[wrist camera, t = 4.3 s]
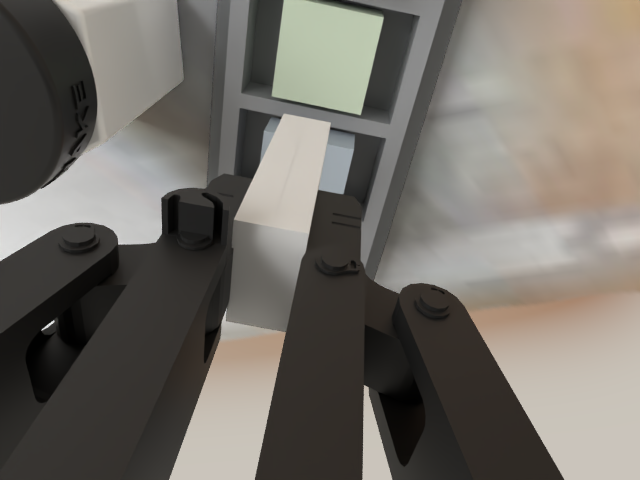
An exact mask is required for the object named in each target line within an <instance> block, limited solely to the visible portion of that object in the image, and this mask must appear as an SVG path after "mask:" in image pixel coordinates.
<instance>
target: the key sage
mask: <svg viewBox="0 0 640 480" xmlns="http://www.w3.org/2000/svg"><path fill="white" fill-rule="evenodd" d="M383 19H384V16H383V11H380V10H375V9H371V8H366V7H361V6H357V5H352V4H348V3H343V2H339V1H334V0H284V3H283V11H282V19H281V27H280V35H279V42H278V50H277V58H276V66H275V74H274V81H273V89H272V96H273V97H277V98H282V99H287V100H292V101H296V102H301V103H306V104H311V105H315V106H320V107H325V108H330V109H334V110H339V111H344V112H349V113H353V114H358V115H361V112H362V108H363V103H364V99H365V95H366V91H367V87H368V82H369V78H370V74H371V70H372V66H373V61H374V57H375V53H376V49H377V45H378V40H379V36H380V32H381V28H382V23H383Z"/></svg>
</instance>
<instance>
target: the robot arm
mask: <svg viewBox="0 0 640 480" xmlns="http://www.w3.org/2000/svg"><path fill="white" fill-rule="evenodd" d="M330 125H331V123H330V122H325V121H320V120H315V119H310V118H304V117H299V116H294V115H289V114H283V116H282V118H281V121H280V123H279V125H278V127H277V129H276V131H275V133H274V135H273V138H272V140H271V142H270V144H269V146H268V148H267V150H266V152H265V154H264V157H263V159H262V161H261V163H260V165H259V167H258V169H257V171H256V174H255V176H254V178H253V179H251V178H246V177H241V176H235V175H230V174H225V173H224V174H222V175H220V176H218V177H217V178H215V179H213V180H211V181H210V183H209V185H208V186H207V188H206V189H199V188H185V189H178V190H175V191H172V192H169V193H167V194H166V195H165V196H164V197H162V198H161V202H162V235H161V236H160V238H159V239H158V241H157V242H156V243H151V244H137V245H118V238H117V236H116V234H115V233H114V231H113V230H111V229H109V228H107V227H105V226H103V225H98V224H94V223H75V224H70V225H65V226H61V227H59V228H57V229H54V230H52V231H50V232H48V233H47V234H45V235H43V236H42V237H40V238H38V239H37V240H35V241H33V242H32V243H30V244H28V245H27V246H25V247H23V248H22V249H20V250H18V251H17V252H15V253H13V254H12V255H10V256H8V257H7V258H5V259H3V260H2V261H0V480H169V478H170V475H171V473H172V470H173V467H174V464H175V461H176V459H177V456H178V453H179V451H180V448H181V445H182V442H183V440H184V436H185V434H186V431H187V428H188V425H189V423H190V420H191V417H192V415H193V412H194V409H195V406H196V404H197V401H198V398H199V395H200V393H201V390H202V387H203V384H204V382H205V379H206V376H207V373H208V371H209V368H210V365H211V362H212V360H213V357H214V354H215V351H216V348H217V346H218V343H219V340H220V336H221V323H222V319H223V316H224V313H225V311H226V308H227V314H226V321H229V322H234V323H240V324H245V325H251V326H256V327H261V328H267V329H272V330H278V331H283V332H286V335H285V340H284V344H283V349H282V354H281V358H280V363H279V368H278V373H277V378H276V382H275V387H274V391H273V396H272V401H271V406H270V410H269V415H268V420H267V425H266V430H265V434H264V439H263V443H262V449H261V453H260V458H259V462H258V467H257V472H256V477H255V480H362V468H363V466H362V464H363V396H364V385H366V386H368V387H369V396H370V400H371V403H372V407H373V411H374V414H375V418H376V421H377V425H378V428H379V432H380V435H381V439H382V443H383V446H384V450H385V454H386V457H387V461H388V464H389V468H390V472H391V475H392V479H393V480H564V478H563V477H562V475H561V473H560V471H559V470H558V468H557V466H556V465H555V463H554V461H553V459H552V458H551V456H550V454H549V453H548V451H547V449H546V447H545V446H544V444H543V442H542V440H541V439H540V437H539V435H538V433H537V432H536V430H535V428H534V426H533V425H532V423H531V421H530V419H529V418H528V416H527V414H526V413H525V411H524V409H523V407H522V406H521V404H520V402H519V400H518V399H517V397H516V395H515V394H514V392H513V390H512V388H511V387H510V385H509V383H508V381H507V380H506V378H505V376H504V374H503V373H502V371H501V370H500V368H499V366H498V364H497V362H496V361H495V359H494V357H493V355H492V354H491V352H490V350H489V348H488V347H487V345H486V343H485V342H484V340H483V338H482V336H481V335H480V333H479V332H478V330H477V328H476V326H475V324H474V322H473V321H472V319H471V318H470V316H469V314H468V312H467V310H466V309H465V307H464V305H463V304H462V303H461V302H460V301H459V299H458V298H457V297H455V296H454V295H453V294H451V293H450V292H448V291H447V290H445V289H442V288H440V287H437V286H435V285H430V284H424V283H418V284H410V285H408V286H407V287H405V288H403V289H402V291H401V293H400V294H398V293H396V292H393V291H391V290H389V289H386V288H384V287H382V286H380V285H378V284H377V283H375V282H374V281H373V280H371V279H370V278H369V277H368V276H367V275H366V274H365V268H364V265H363V263H362V262H361V223H362V220H361V219H362V207H361V205H360V204H359V203H358V201H357V200H356V198H355V197H354V196H348V195H343V194H338V193H333V192H327V191H322V190H319V185H320V179H321V174H322V169H323V163H324V158H325V152H326V147H327V142H328V136H329V131H330ZM53 320H54V321H55V322H54V323H53V324H52V325H51V326H49V327H48V328H46V329H44V330H42V329H43V328H44V327H45V326H47V325H48V324H49V323H50V322H52V321H53ZM41 330H42V331H41Z"/></svg>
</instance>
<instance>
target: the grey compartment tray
mask: <svg viewBox="0 0 640 480" xmlns="http://www.w3.org/2000/svg"><path fill="white" fill-rule="evenodd" d="M334 1H339V2H343V3H348V4H352V5H357V6H361V7H366V8H371V9H375V10H380V11H383V16H384V19H383V23H382V28H381V32H380V36H379V40H378V45H377V49H376V53H375V57H374V61H373V66H372V70H371V74H370V78H369V82H368V87H367V91H366V95H365V99H364V103H363V108H362V112H361V115H358V114H353V113H349V112H344V111H339V110H334V109H330V108H325V107H320V106H315V105H311V104H306V103H301V102H296V101H292V100H287V99H282V98H277V97H273V96H272V89H273V81H274V74H275V66H276V58H277V50H278V42H279V35H280V27H281V19H282V11H283V3H284V0H218V3H217V20H216V37H215V54H214V71H213V88H212V105H211V122H210V140H209V157H208V174H207V186H208V185H209V183H210V181H211V180H213V179H215V178H217V177H218V176H220V175H222V174H224V173H225V174H230V175H235V176H241V177H246V178H251V179H253V178H254V176H255V174H256V171H257V169H258V167H259V165H260V159H261V151H262V143H263V135H264V130H265V128H266V126H267V124H268V122H269V121H270V119H271V117H274V118H279V119H281V118H282V116H283V114H289V115H294V116H299V117H304V118H310V119H315V120H320V121H325V122H330V123H331V125H330V129H331V130H336V131H341V132H346V133H350V134H355V141H354V152H353V156H352V160H351V164H350V168H349V172H348V177H347V181H346V185H345V189H344V193H343V195H348V196H354V197H355V198H356V200H357V201H358V203H359V204H360V205H361V207H362V219H361V220H362V223H361V262H362V263H363V265H364V268H365V274H366V275H367V276H368V277H369V278H370V279H371V280H373V281H374V278H375V275H376V272H377V268H378V265H379V262H380V259H381V256H382V253H383V249H384V246H385V243H386V240H387V237H388V234H389V230H390V227H391V224H392V221H393V218H394V215H395V211H396V208H397V205H398V202H399V199H400V196H401V192H402V189H403V186H404V183H405V180H406V177H407V173H408V170H409V167H410V164H411V161H412V158H413V154H414V151H415V148H416V145H417V142H418V139H419V135H420V132H421V129H422V126H423V123H424V120H425V116H426V113H427V110H428V107H429V104H430V101H431V97H432V94H433V91H434V88H435V85H436V82H437V79H438V75H439V72H440V69H441V66H442V63H443V60H444V56H445V53H446V50H447V47H448V44H449V41H450V37H451V34H452V31H453V28H454V25H455V22H456V18H457V15H458V12H459V9H460V6H461V3H462V0H334Z"/></svg>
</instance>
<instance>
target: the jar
mask: <svg viewBox="0 0 640 480" xmlns="http://www.w3.org/2000/svg"><path fill="white" fill-rule="evenodd" d="M183 79H184V74H183V62H182V51H181V39H180V28H179V17H178V5H177V0H0V204H6V203H11V202H14V201H18V200H20V199H23V198H25V197H27V196H29V195H31V194H33V193H34V192H36V191H37V190H39V189H40V188H41V189H42V188H44V187H46V186H47V185H49V184H50V183H51V182H53V181H54V180H55V179H57V178H58V177H59V176H60V175H62V174H63V173H64V172H65V171H67V170H68V168H69V167H70V166H71V165H72V164H73V163H74V162H75V161H76V160H77V159H78V158H79V157H80V156H81V155H83V154H85V153H87V152H88V151H90V150H92V149H94V148H96V147H98V146H100V145H102V144H104V143H106V142H107V141H108V140H109V139H111V138H112V137H113V136H114V135H116V134H117V133H118V132H119V131H121V130H122V129H123V128H125V127H126V126H127V125H129V124H130V123H131V122H132V121H133V120H135V119H136V118H137V117H138V116H140V115H141V114H142V113H143V112H145V111H146V110H147V109H148V108H150V107H151V106H152V105H153V104H155V103H156V102H157V101H158V100H160V99H161V98H162V97H164V96H165V95H166V94H167V93H169V92H170V91H171V90H172V89H174V88H175V87H176V86H177V85H179V84H180V83H181V82H182V81H183Z"/></svg>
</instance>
